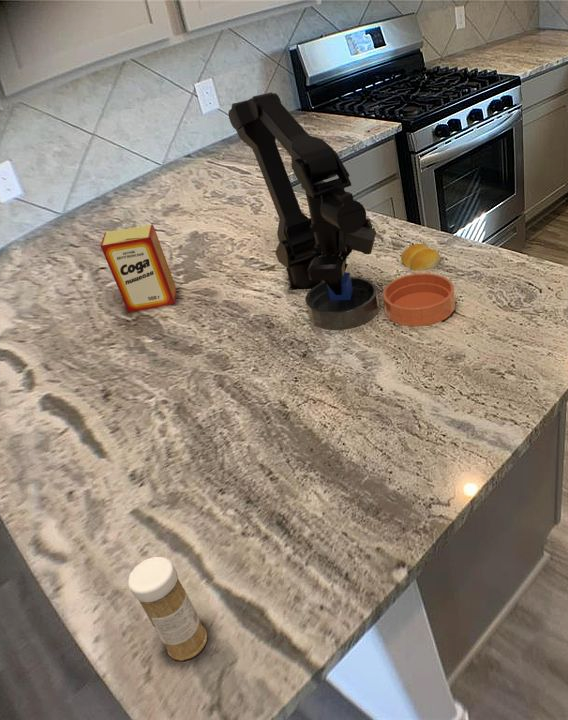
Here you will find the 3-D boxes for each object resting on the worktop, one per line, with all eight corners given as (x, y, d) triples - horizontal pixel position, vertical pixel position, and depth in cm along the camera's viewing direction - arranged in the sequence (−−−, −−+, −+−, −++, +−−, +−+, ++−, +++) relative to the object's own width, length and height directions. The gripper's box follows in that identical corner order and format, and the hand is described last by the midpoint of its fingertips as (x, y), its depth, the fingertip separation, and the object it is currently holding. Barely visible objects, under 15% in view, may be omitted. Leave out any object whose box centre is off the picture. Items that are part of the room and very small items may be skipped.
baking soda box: (128, 312, 141) (99, 243, 131) (131, 297, 146) (104, 230, 136) (175, 303, 142) (149, 235, 133) (176, 289, 148) (152, 222, 138)
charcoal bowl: (303, 334, 130) (298, 314, 127) (316, 297, 141) (312, 278, 139) (375, 330, 129) (372, 311, 126) (383, 293, 141) (380, 275, 138)
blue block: (330, 301, 131) (326, 283, 129) (333, 290, 134) (330, 273, 132) (350, 300, 131) (346, 282, 129) (353, 290, 134) (349, 272, 132)
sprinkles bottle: (172, 630, 79) (131, 559, 71) (211, 622, 79) (175, 551, 71) (164, 666, 75) (122, 595, 67) (206, 658, 76) (168, 587, 68)
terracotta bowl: (382, 330, 129) (379, 310, 126) (389, 293, 141) (386, 274, 138) (454, 327, 129) (453, 307, 126) (455, 290, 140) (454, 271, 137)
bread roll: (420, 276, 146) (418, 260, 143) (396, 263, 151) (394, 247, 149) (449, 263, 150) (447, 247, 148) (424, 251, 156) (423, 235, 153)
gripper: (363, 235, 115) (375, 312, 124) (375, 194, 130) (385, 265, 139) (299, 239, 115) (316, 315, 124) (319, 197, 130) (332, 267, 139)
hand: (340, 289), depth 132 cm, fingers closed on blue block, 4 cm apart
